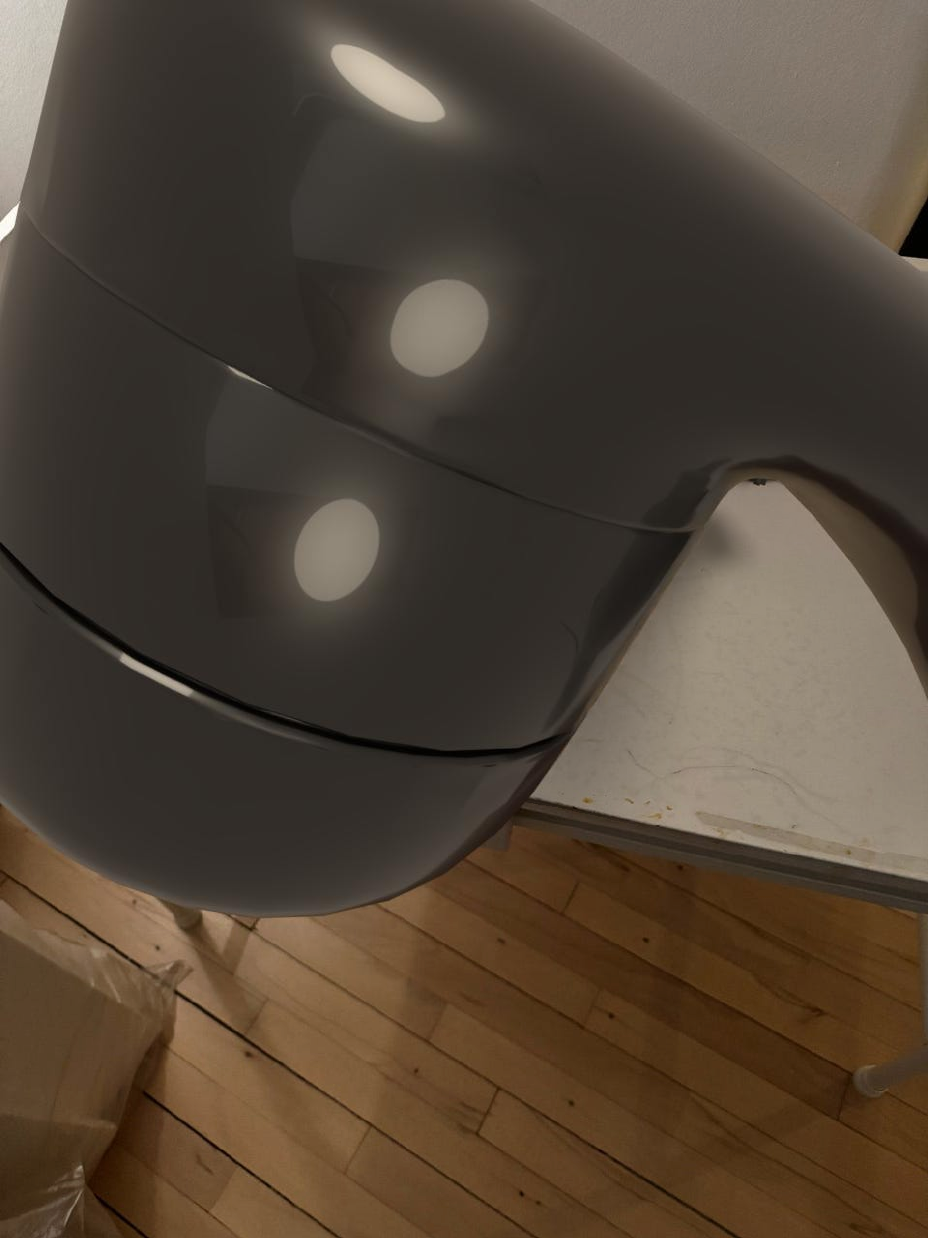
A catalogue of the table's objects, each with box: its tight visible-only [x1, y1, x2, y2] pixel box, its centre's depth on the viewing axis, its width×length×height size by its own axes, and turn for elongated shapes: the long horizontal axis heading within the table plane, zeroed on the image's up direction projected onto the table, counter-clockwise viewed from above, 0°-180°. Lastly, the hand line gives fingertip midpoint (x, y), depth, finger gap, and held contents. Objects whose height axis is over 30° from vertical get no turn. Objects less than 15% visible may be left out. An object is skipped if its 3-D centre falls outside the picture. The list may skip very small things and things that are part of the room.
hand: (705, 452), depth 72 cm, fingers closed
